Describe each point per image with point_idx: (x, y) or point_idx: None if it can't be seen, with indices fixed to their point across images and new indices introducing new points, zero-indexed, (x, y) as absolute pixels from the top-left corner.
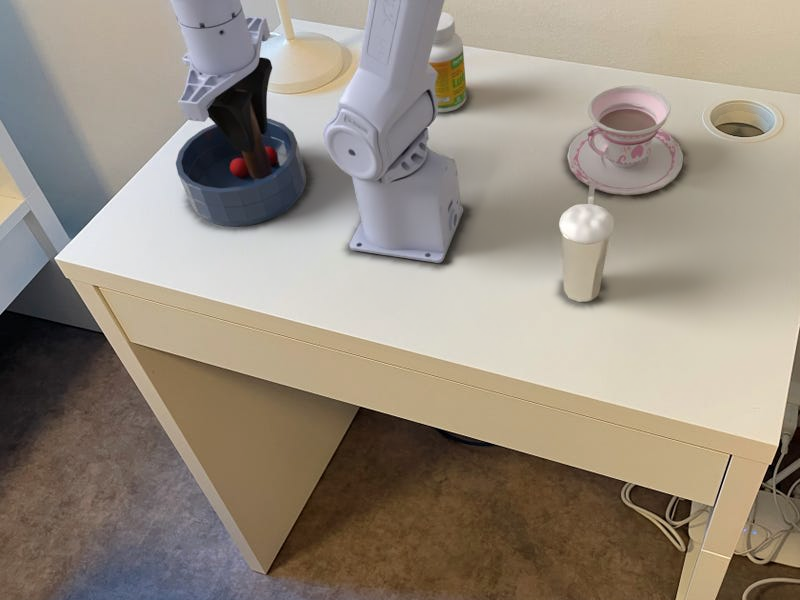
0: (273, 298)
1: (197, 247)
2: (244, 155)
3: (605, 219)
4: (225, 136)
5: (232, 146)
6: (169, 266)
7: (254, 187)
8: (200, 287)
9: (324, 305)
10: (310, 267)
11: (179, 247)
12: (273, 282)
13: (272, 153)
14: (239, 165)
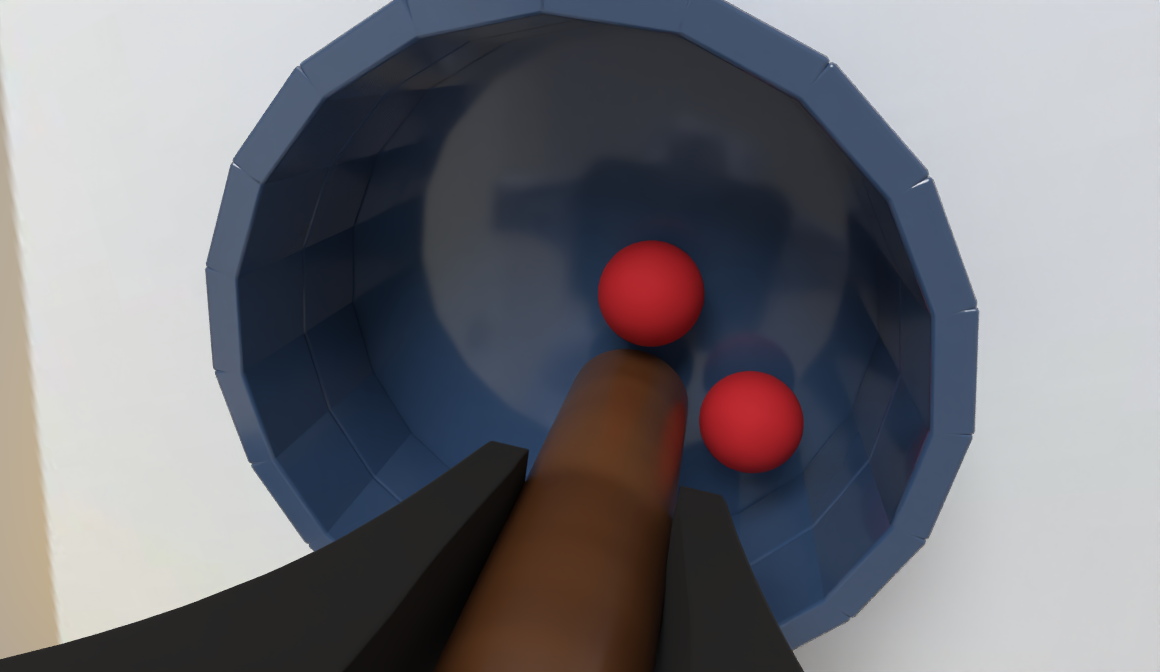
0: (85, 491)
1: (205, 172)
2: (548, 436)
3: None
4: (425, 486)
5: (475, 451)
6: (80, 82)
7: (298, 526)
8: (38, 249)
9: (112, 618)
10: (227, 578)
11: (184, 86)
12: (139, 483)
13: (732, 467)
14: (617, 321)
